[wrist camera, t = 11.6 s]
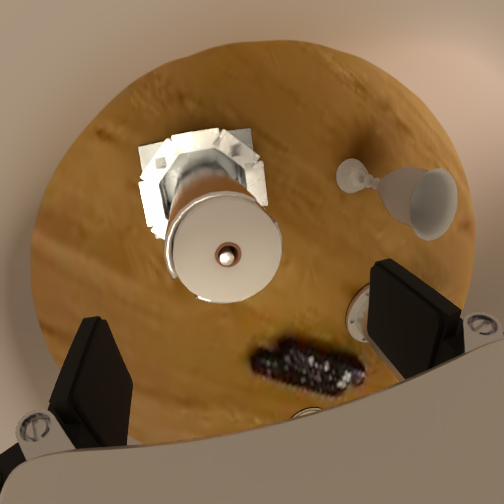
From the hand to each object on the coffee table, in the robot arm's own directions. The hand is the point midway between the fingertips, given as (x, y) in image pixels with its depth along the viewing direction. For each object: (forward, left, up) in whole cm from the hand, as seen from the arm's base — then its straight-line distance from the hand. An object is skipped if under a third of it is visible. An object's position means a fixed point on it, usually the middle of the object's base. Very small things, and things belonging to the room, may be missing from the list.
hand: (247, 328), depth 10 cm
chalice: (-21, +2, -32) cm, 39 cm away
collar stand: (0, 0, -32) cm, 32 cm away
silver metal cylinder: (0, 0, -31) cm, 31 cm away
